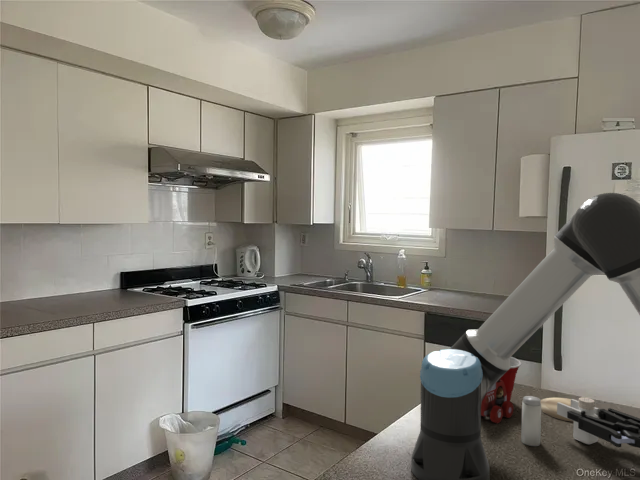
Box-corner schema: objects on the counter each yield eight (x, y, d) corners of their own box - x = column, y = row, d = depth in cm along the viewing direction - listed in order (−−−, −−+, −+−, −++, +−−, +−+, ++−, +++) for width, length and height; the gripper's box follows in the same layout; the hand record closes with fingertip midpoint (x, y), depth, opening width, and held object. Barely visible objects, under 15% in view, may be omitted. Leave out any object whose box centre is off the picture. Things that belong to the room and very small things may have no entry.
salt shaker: (539, 447, 106) (540, 403, 105) (520, 443, 108) (521, 399, 107) (540, 440, 109) (542, 397, 109) (522, 436, 111) (523, 394, 111)
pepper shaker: (588, 446, 107) (589, 404, 106) (571, 438, 110) (572, 398, 110) (599, 442, 109) (600, 401, 108) (582, 435, 112) (583, 395, 112)
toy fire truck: (517, 414, 124) (518, 375, 124) (491, 427, 116) (492, 385, 116) (493, 406, 130) (493, 368, 129) (467, 418, 122) (467, 378, 121)
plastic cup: (508, 411, 126) (509, 366, 125) (471, 399, 134) (472, 357, 134) (527, 401, 133) (528, 358, 132) (491, 390, 141) (492, 350, 141)
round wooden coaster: (599, 426, 117) (599, 422, 117) (536, 415, 123) (536, 411, 123) (597, 407, 129) (597, 403, 129) (541, 397, 136) (541, 393, 136)
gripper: (645, 477, 89) (539, 428, 110) (696, 457, 97) (587, 415, 118) (647, 438, 89) (540, 396, 110) (697, 421, 97) (588, 385, 118)
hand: (565, 406), depth 114 cm, fingers closed on pepper shaker, 4 cm apart
